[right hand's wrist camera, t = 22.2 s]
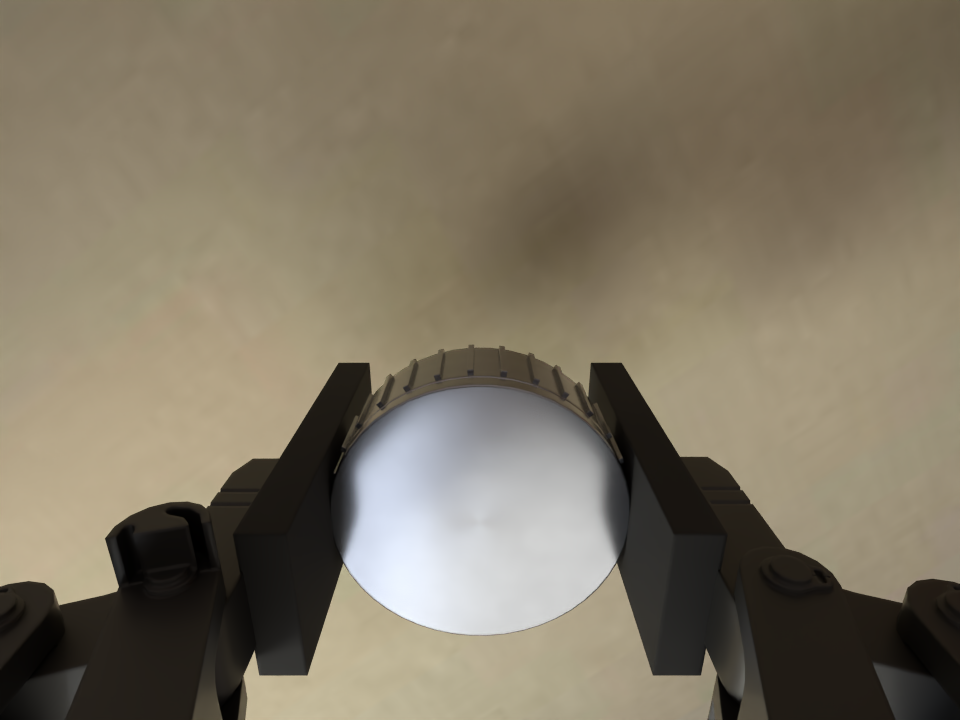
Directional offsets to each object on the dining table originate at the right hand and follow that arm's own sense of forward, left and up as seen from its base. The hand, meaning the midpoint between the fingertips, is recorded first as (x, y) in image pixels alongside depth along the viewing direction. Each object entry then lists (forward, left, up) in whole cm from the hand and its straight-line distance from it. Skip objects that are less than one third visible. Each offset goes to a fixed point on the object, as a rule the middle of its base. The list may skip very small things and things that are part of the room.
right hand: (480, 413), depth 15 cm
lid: (0, 0, +4) cm, 4 cm away
